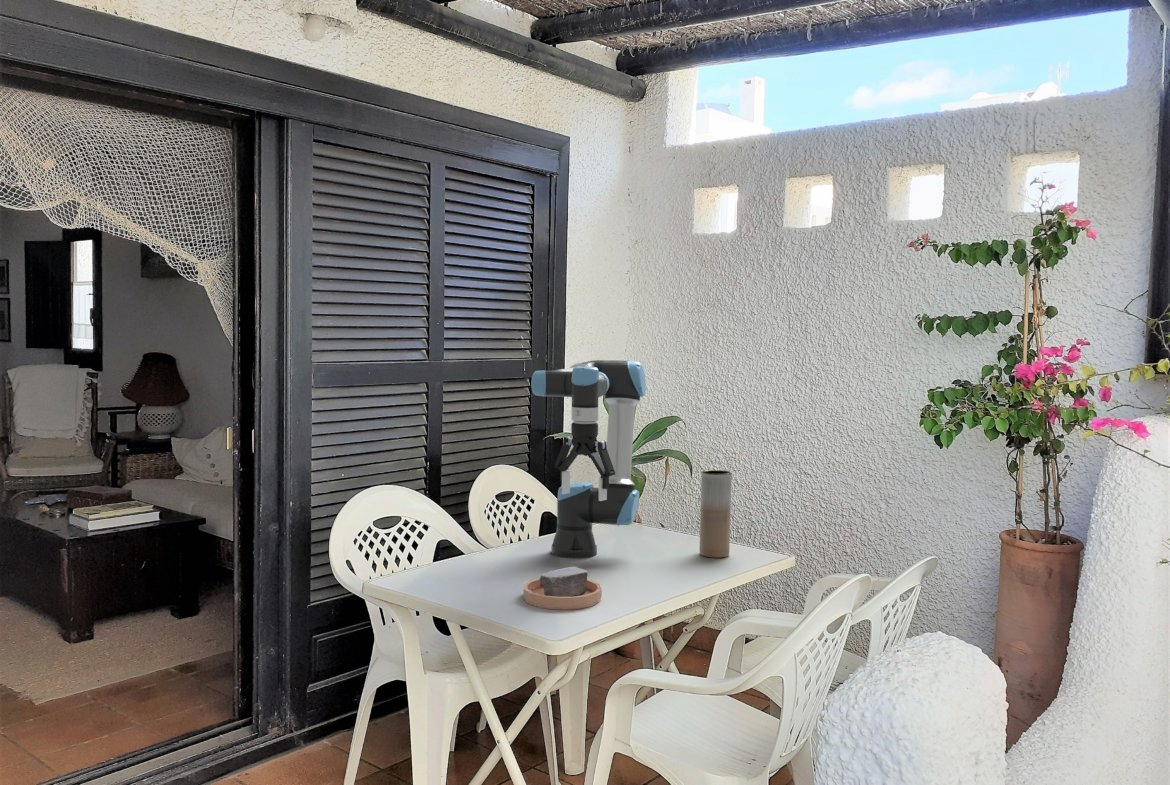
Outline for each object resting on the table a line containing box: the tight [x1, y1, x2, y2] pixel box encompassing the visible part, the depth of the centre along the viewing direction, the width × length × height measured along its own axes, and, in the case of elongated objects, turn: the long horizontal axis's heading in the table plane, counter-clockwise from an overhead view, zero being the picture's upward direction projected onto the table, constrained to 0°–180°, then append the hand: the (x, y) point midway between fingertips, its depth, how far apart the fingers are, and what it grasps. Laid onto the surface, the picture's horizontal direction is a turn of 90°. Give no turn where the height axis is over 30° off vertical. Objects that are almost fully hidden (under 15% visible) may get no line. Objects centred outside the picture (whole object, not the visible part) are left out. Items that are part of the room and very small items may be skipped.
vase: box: [698, 469, 732, 559], centre depth 294 cm, size 10×10×28 cm
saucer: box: [522, 577, 603, 611], centre depth 241 cm, size 21×21×3 cm
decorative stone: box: [539, 566, 589, 597], centre depth 241 cm, size 15×7×10 cm
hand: (583, 496), depth 250 cm, fingers open, 13 cm apart
